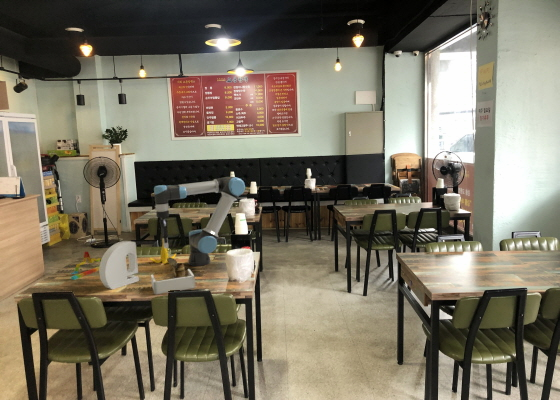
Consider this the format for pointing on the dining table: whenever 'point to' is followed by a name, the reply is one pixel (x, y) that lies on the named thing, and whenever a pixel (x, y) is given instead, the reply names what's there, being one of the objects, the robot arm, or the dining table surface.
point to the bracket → (119, 265)
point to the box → (173, 284)
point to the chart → (82, 264)
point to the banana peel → (163, 255)
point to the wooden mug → (176, 268)
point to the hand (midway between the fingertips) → (166, 247)
